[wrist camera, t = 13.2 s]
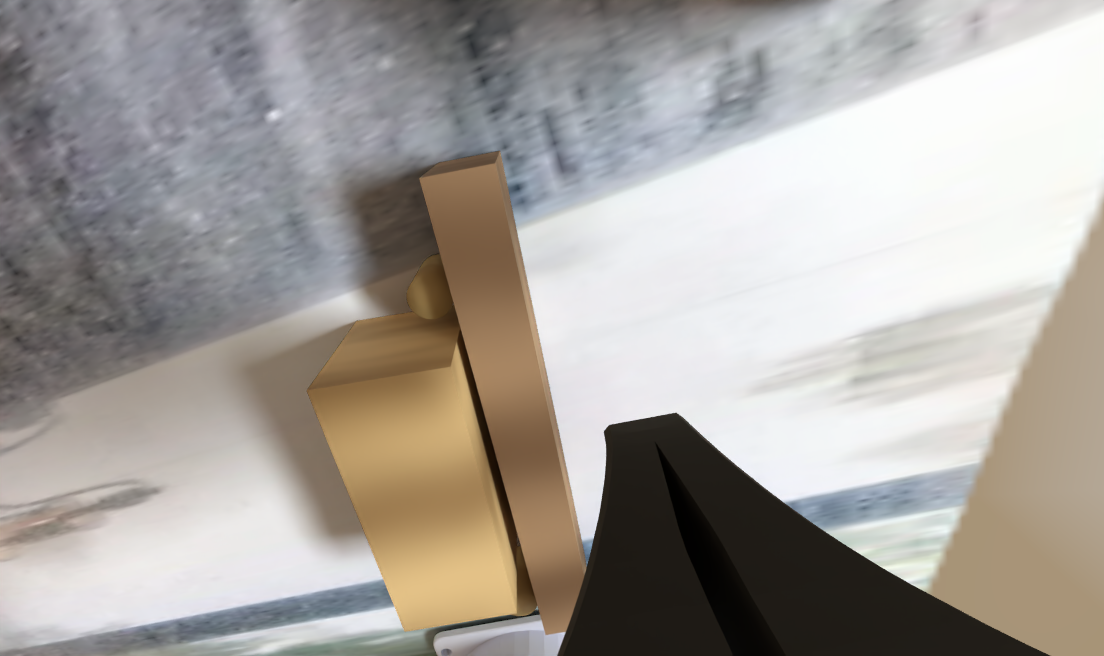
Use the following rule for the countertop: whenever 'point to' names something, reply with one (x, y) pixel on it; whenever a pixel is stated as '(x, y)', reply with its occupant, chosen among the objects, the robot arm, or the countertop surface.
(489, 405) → the wall ledge
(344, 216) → the countertop surface
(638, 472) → the robot arm
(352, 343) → the tan wooden block
